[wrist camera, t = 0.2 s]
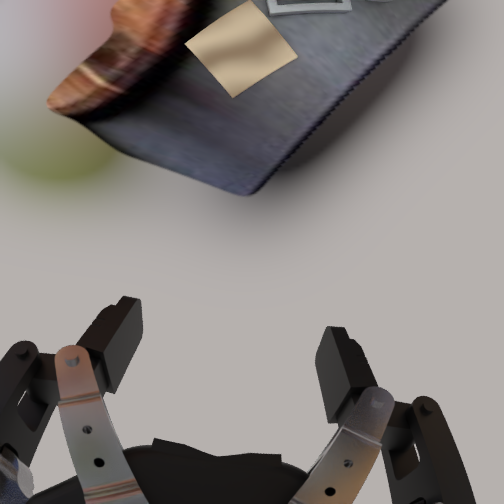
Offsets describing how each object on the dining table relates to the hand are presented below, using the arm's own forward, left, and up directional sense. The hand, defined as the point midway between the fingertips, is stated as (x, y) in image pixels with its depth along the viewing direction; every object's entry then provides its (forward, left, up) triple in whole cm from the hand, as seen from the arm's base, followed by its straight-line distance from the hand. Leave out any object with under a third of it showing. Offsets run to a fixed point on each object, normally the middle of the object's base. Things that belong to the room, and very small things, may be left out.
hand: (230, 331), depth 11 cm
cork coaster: (-10, +6, -30) cm, 33 cm away
